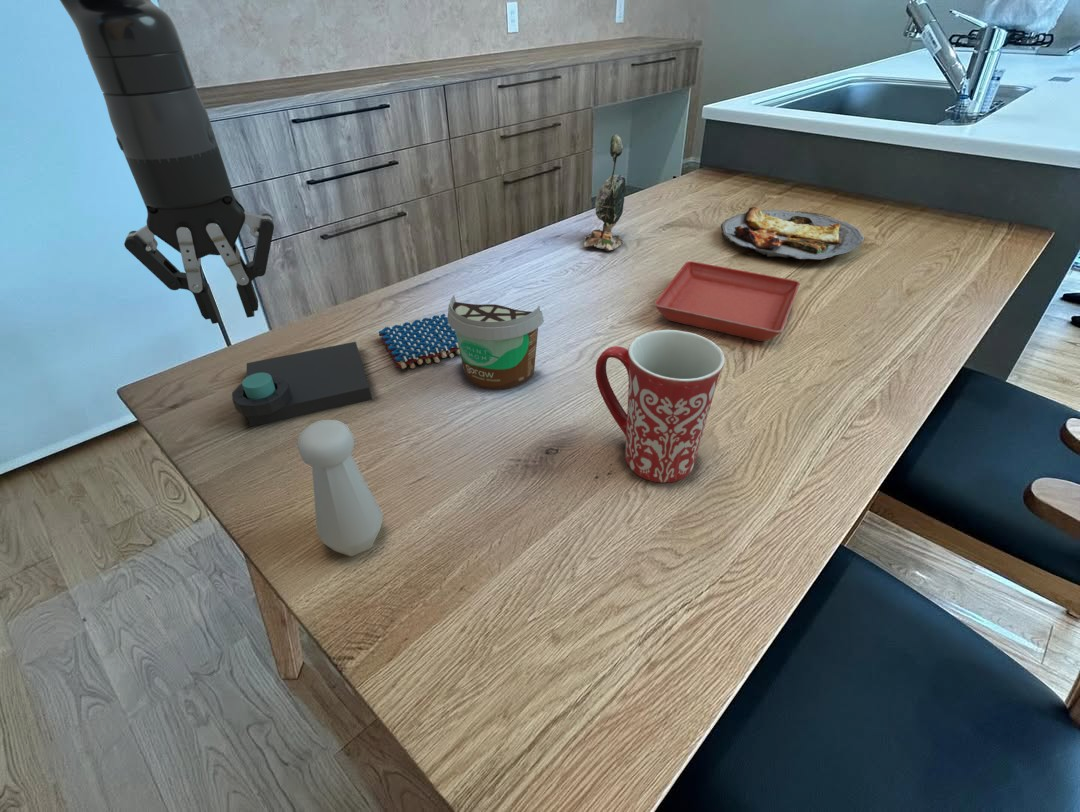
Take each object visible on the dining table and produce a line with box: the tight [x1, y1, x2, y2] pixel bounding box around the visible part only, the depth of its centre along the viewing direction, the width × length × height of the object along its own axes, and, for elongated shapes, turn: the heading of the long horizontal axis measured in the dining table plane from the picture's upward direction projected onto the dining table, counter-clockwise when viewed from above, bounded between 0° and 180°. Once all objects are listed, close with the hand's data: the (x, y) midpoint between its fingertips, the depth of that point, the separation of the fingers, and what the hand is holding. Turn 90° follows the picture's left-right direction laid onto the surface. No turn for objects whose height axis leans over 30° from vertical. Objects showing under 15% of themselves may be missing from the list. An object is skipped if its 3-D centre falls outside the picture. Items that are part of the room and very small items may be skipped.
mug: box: [595, 329, 726, 483], centre depth 60 cm, size 13×9×14 cm
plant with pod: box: [583, 133, 628, 252], centre depth 107 cm, size 8×11×20 cm
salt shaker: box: [296, 419, 384, 557], centre depth 51 cm, size 6×6×13 cm
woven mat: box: [378, 313, 460, 370], centre depth 82 cm, size 10×11×2 cm
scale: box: [231, 341, 373, 427], centre depth 73 cm, size 15×13×4 cm
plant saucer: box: [654, 260, 801, 342], centre depth 89 cm, size 18×18×3 cm
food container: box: [447, 294, 545, 391], centre depth 73 cm, size 12×6×10 cm, turn 73°
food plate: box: [720, 206, 865, 260], centre depth 111 cm, size 25×23×4 cm
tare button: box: [241, 373, 275, 400], centre depth 68 cm, size 3×3×2 cm
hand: (233, 316), depth 63 cm, fingers open, 3 cm apart
